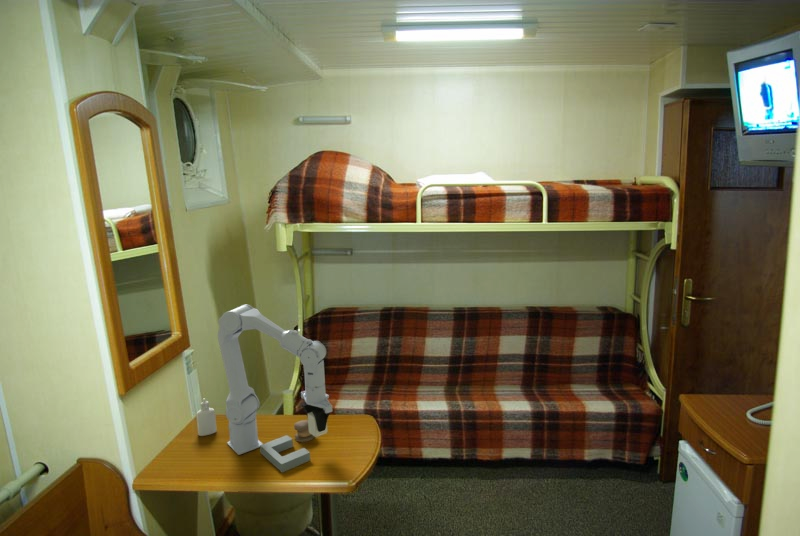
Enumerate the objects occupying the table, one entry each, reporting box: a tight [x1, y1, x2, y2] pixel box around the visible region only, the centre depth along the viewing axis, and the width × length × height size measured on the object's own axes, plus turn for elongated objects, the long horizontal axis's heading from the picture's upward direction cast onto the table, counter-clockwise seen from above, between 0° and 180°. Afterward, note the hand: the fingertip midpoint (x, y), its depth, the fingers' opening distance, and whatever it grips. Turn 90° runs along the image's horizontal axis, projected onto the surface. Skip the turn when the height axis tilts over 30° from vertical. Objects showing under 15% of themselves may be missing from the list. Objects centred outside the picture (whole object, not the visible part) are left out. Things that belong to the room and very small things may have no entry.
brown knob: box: [293, 419, 315, 443], centre depth 154 cm, size 6×6×4 cm
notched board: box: [259, 434, 311, 473], centre depth 144 cm, size 14×9×2 cm, turn 40°
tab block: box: [307, 412, 328, 438], centre depth 143 cm, size 4×4×6 cm
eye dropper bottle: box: [195, 397, 217, 437], centre depth 159 cm, size 4×6×12 cm
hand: (317, 427), depth 143 cm, fingers closed on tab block, 4 cm apart
